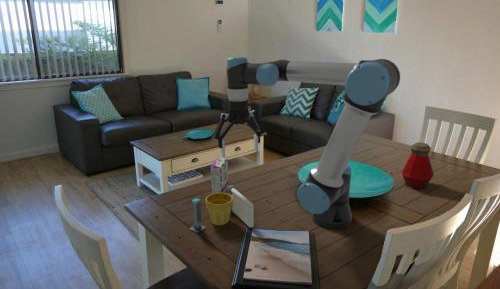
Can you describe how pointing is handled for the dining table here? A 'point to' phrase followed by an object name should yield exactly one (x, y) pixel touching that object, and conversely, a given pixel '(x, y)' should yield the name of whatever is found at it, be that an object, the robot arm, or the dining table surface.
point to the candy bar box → (219, 176)
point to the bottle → (418, 166)
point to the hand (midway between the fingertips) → (239, 153)
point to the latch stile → (197, 216)
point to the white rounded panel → (242, 207)
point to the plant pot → (219, 207)
